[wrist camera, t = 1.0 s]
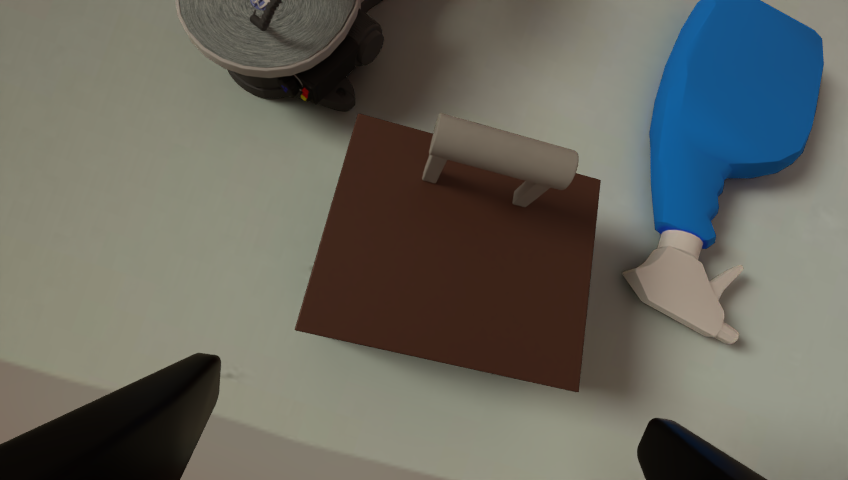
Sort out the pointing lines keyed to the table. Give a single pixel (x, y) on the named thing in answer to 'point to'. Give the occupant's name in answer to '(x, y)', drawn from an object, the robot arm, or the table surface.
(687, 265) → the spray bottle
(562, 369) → the lid
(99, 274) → the table surface
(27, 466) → the robot arm
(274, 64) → the scroll saw
